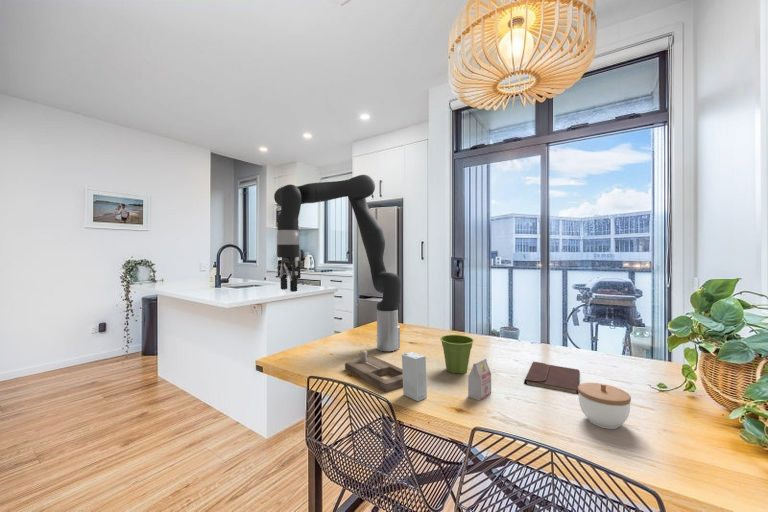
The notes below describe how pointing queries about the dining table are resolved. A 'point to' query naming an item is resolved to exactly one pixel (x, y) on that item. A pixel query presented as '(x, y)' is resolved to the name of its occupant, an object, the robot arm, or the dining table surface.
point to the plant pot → (456, 352)
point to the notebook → (553, 377)
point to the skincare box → (414, 376)
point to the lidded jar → (604, 404)
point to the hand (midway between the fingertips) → (288, 290)
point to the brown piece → (376, 372)
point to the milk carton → (479, 380)
